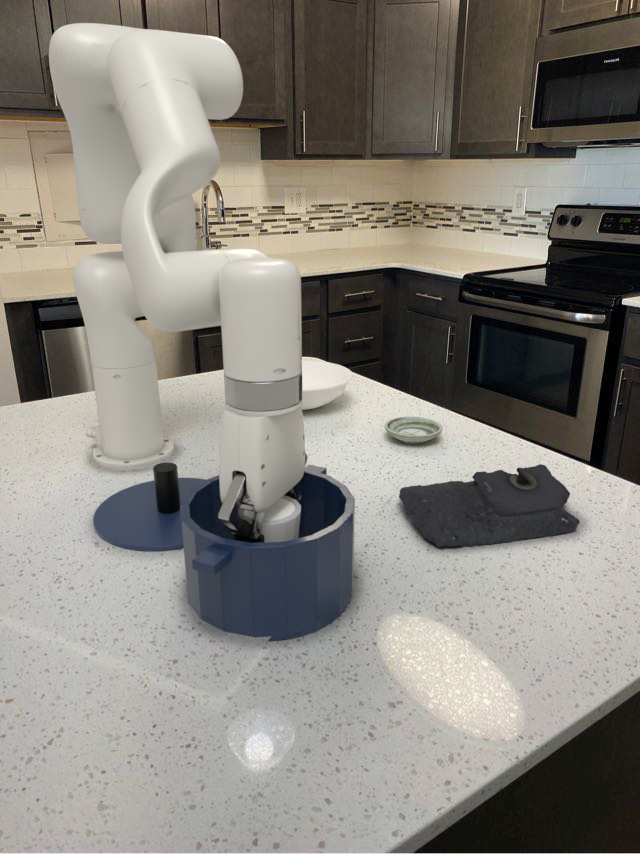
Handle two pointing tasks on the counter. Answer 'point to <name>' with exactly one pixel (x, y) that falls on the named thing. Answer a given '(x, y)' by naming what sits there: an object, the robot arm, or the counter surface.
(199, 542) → the pot
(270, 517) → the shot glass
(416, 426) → the saucer
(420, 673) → the counter surface
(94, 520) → the lid
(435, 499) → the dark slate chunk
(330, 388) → the bowl
